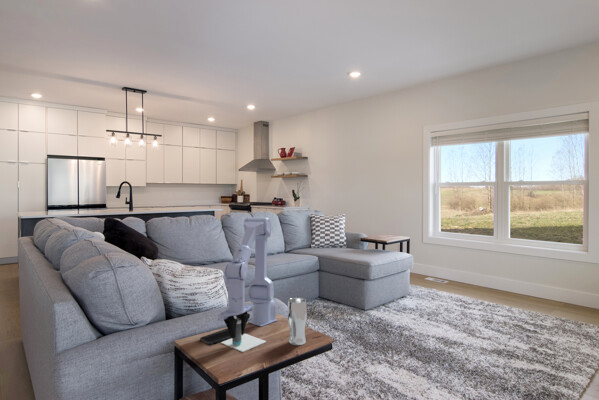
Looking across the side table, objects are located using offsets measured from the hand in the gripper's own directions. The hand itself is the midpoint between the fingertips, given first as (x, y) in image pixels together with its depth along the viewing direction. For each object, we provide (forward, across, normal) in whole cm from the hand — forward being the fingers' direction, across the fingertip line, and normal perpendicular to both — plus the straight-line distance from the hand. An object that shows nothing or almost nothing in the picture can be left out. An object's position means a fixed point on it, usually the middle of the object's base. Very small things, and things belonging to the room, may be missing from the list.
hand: (236, 335), depth 126 cm
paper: (+3, -3, 0) cm, 5 cm away
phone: (+4, -2, -10) cm, 11 cm away
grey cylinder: (+2, 0, 0) cm, 2 cm away
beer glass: (+3, -16, +15) cm, 22 cm away
